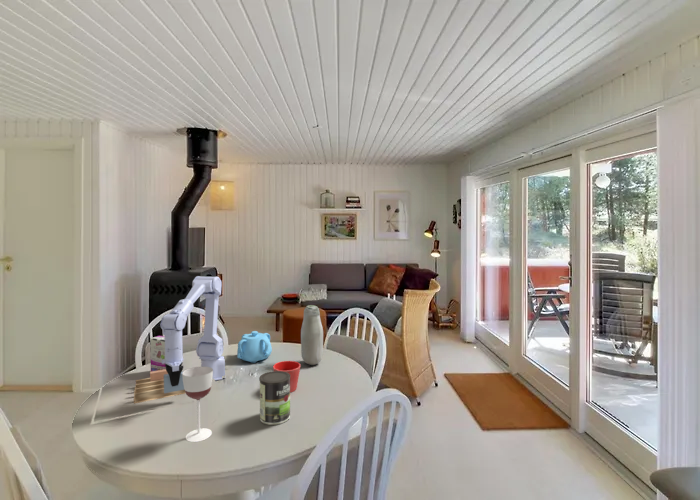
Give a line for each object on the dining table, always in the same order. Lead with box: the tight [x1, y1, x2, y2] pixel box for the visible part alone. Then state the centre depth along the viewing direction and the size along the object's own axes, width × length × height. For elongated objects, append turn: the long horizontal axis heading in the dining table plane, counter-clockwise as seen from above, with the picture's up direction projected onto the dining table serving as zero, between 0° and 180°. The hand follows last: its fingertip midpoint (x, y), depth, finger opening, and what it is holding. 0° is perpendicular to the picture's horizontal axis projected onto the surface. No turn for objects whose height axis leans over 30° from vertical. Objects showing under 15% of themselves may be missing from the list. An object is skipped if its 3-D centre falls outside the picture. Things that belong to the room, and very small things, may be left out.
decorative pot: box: [236, 330, 273, 364], centre depth 180 cm, size 16×16×14 cm
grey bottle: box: [300, 304, 324, 366], centre depth 173 cm, size 10×10×28 cm
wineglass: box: [182, 366, 213, 443], centre depth 112 cm, size 8×9×20 cm
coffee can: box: [258, 370, 291, 426], centre depth 123 cm, size 10×10×14 cm
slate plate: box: [164, 370, 185, 393], centre depth 132 cm, size 7×2×6 cm, turn 119°
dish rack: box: [133, 377, 186, 404], centre depth 142 cm, size 18×16×4 cm
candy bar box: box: [149, 335, 166, 372], centre depth 159 cm, size 11×5×16 cm, turn 68°
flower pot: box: [272, 360, 301, 394], centre depth 145 cm, size 11×11×10 cm
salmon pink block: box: [149, 369, 168, 382], centre depth 146 cm, size 7×2×6 cm, turn 120°
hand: (174, 384), depth 132 cm, fingers closed on slate plate, 2 cm apart
